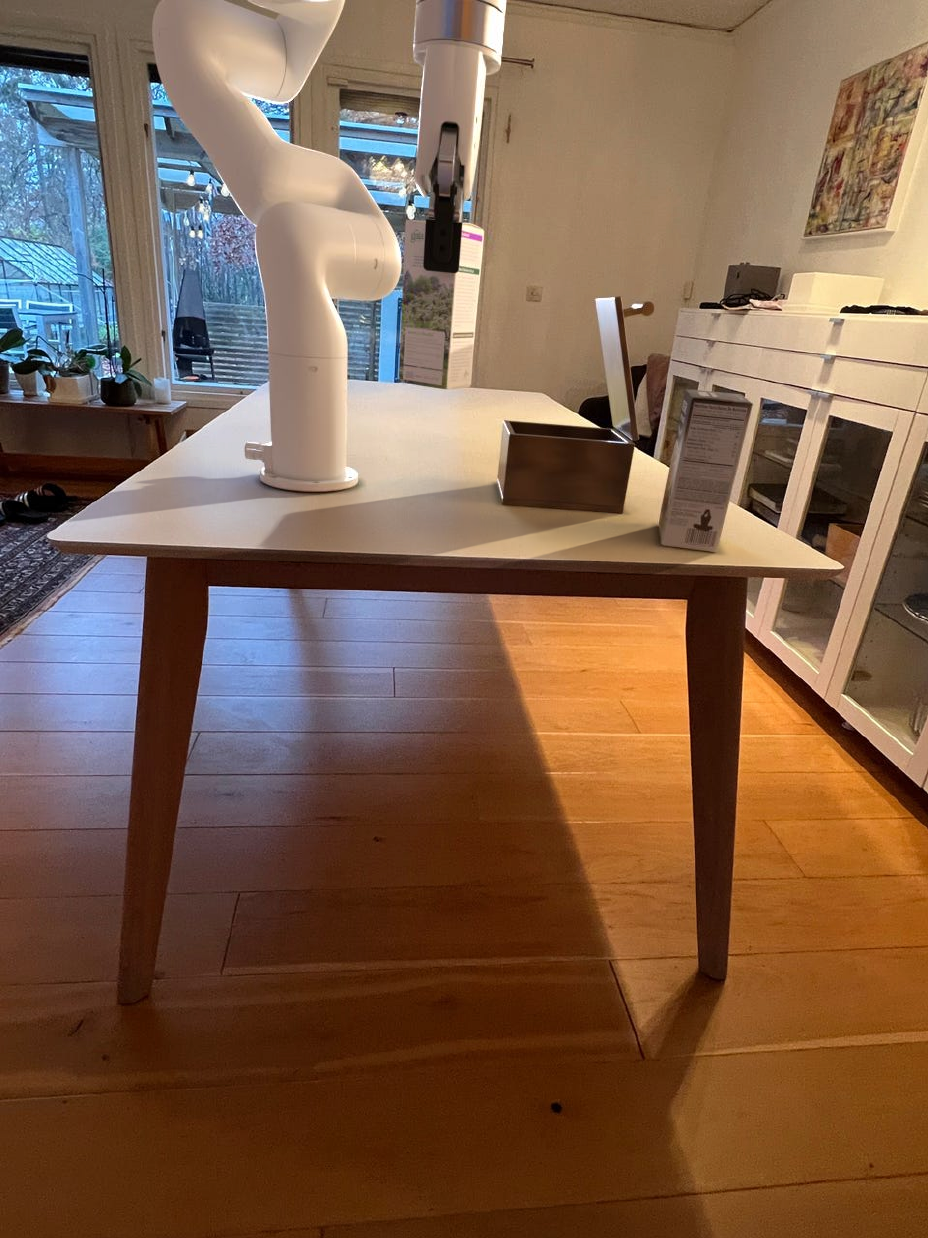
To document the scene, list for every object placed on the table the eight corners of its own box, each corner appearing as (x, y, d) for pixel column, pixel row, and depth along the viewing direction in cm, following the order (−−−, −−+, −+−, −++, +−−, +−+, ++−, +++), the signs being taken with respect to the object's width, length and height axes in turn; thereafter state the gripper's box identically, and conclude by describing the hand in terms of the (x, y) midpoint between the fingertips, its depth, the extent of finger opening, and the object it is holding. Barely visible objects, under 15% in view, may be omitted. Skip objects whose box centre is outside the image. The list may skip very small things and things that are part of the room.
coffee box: (656, 524, 85) (683, 387, 79) (709, 531, 84) (741, 393, 78) (660, 546, 77) (691, 395, 70) (719, 554, 76) (756, 402, 69)
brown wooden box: (502, 504, 88) (509, 433, 84) (496, 483, 99) (503, 419, 95) (622, 513, 89) (635, 443, 85) (604, 491, 99) (615, 428, 96)
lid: (614, 297, 78) (660, 286, 78) (595, 298, 89) (635, 288, 89) (632, 440, 85) (675, 431, 85) (612, 426, 96) (650, 417, 95)
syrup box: (472, 387, 72) (487, 228, 66) (446, 390, 67) (459, 218, 61) (424, 380, 74) (434, 225, 68) (395, 383, 69) (403, 216, 63)
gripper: (421, 68, 67) (410, 273, 74) (405, -4, 51) (394, 265, 58) (498, 77, 67) (480, 279, 74) (506, 7, 51) (483, 273, 58)
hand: (442, 272), depth 66 cm, fingers closed on syrup box, 7 cm apart
